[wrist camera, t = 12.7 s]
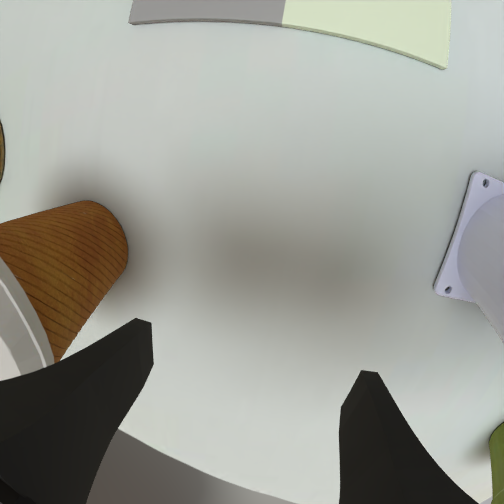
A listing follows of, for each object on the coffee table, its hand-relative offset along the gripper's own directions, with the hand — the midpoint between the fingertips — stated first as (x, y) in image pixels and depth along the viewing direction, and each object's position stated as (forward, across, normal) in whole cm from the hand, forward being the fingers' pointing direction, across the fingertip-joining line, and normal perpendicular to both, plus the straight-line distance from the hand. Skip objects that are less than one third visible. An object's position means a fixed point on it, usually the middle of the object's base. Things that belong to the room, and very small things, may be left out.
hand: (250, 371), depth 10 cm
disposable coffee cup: (+10, +13, +2) cm, 16 cm away
